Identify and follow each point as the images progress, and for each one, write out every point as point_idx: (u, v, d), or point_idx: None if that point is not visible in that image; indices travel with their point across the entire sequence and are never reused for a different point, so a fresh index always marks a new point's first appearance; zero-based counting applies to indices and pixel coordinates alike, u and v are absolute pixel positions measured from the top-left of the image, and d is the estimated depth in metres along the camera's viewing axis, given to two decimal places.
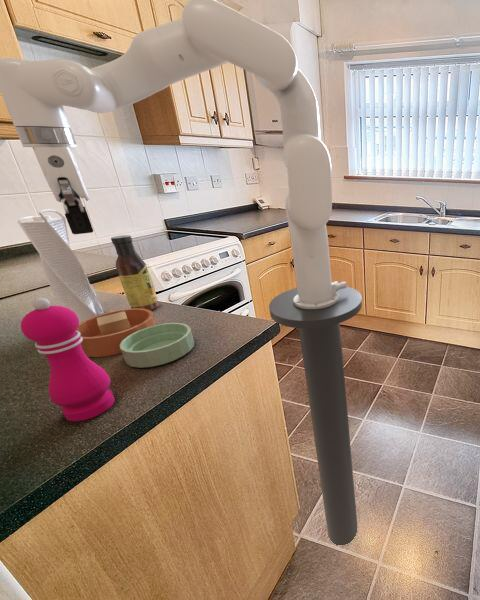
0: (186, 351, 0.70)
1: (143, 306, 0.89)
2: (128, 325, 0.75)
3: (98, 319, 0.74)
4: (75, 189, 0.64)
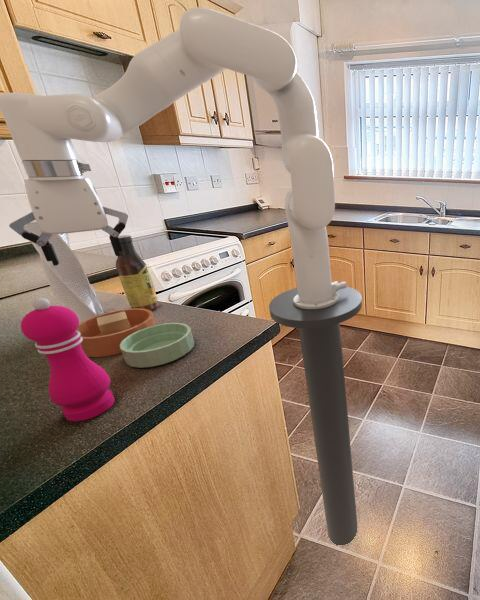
0: (186, 351, 0.70)
1: (143, 306, 0.89)
2: (128, 325, 0.75)
3: (98, 319, 0.74)
4: None
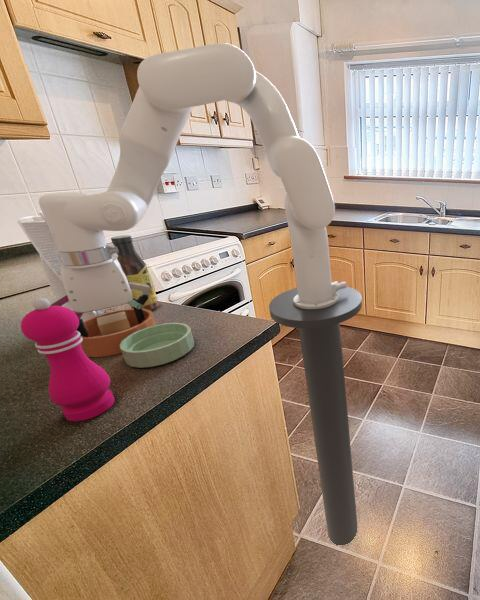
0: (186, 351, 0.70)
1: (143, 306, 0.89)
2: (128, 325, 0.75)
3: (98, 319, 0.74)
4: None
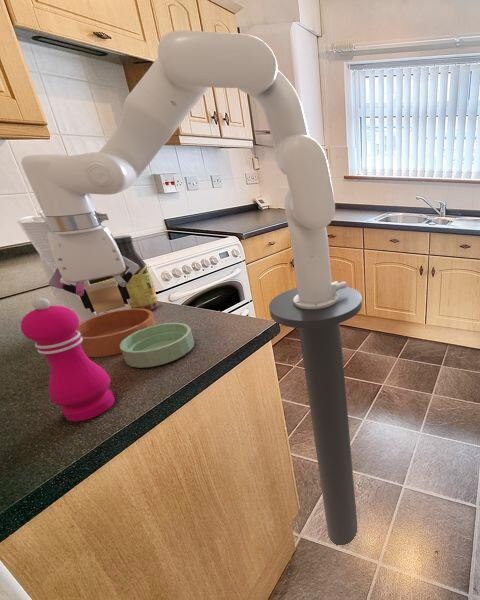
0: (186, 351, 0.70)
1: (143, 306, 0.89)
2: (118, 293, 0.72)
3: (87, 286, 0.71)
4: None
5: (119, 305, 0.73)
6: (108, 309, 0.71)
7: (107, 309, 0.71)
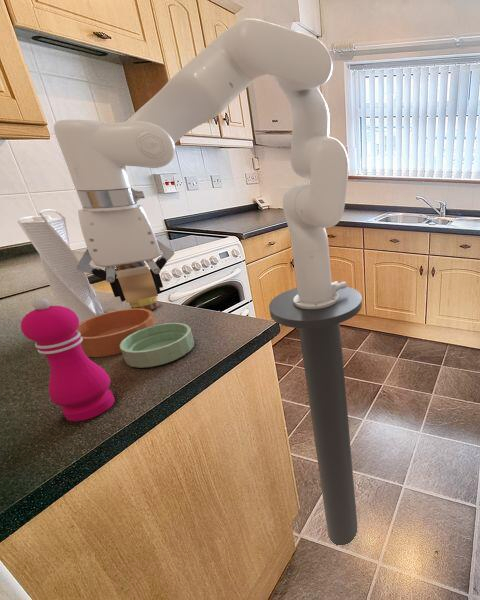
0: (186, 351, 0.70)
1: (143, 306, 0.89)
2: (151, 280, 0.65)
3: (117, 272, 0.64)
4: None
5: (151, 294, 0.65)
6: (140, 298, 0.64)
7: (139, 298, 0.64)
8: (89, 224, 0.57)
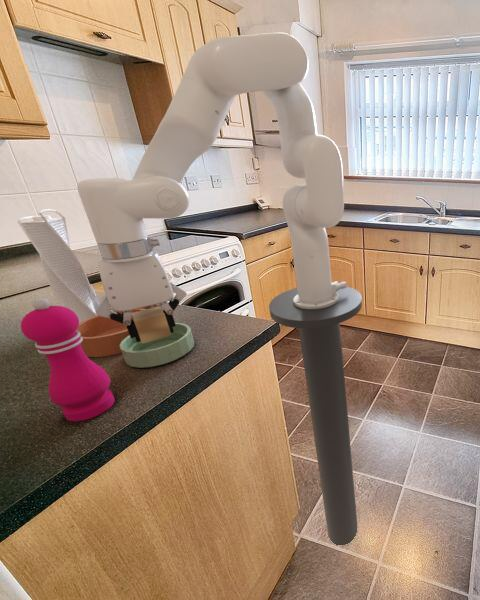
0: (186, 351, 0.70)
1: None
2: (165, 321, 0.68)
3: (133, 314, 0.67)
4: None
5: (165, 334, 0.69)
6: (154, 338, 0.68)
7: (153, 338, 0.67)
8: (108, 274, 0.60)
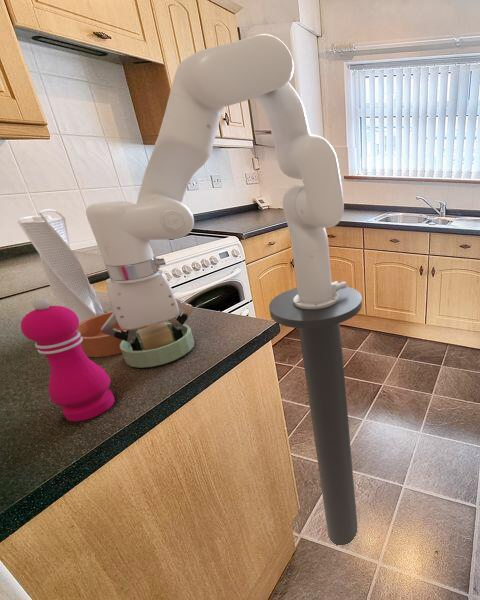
0: (186, 351, 0.70)
1: None
2: (171, 338, 0.70)
3: (139, 331, 0.69)
4: None
5: None
6: None
7: None
8: (117, 294, 0.62)
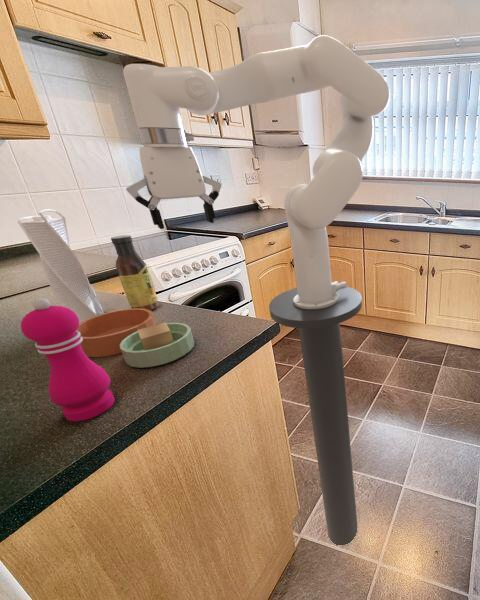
0: (186, 351, 0.70)
1: (143, 306, 0.89)
2: (171, 338, 0.70)
3: (139, 331, 0.69)
4: None
5: None
6: None
7: None
8: (150, 158, 0.65)
